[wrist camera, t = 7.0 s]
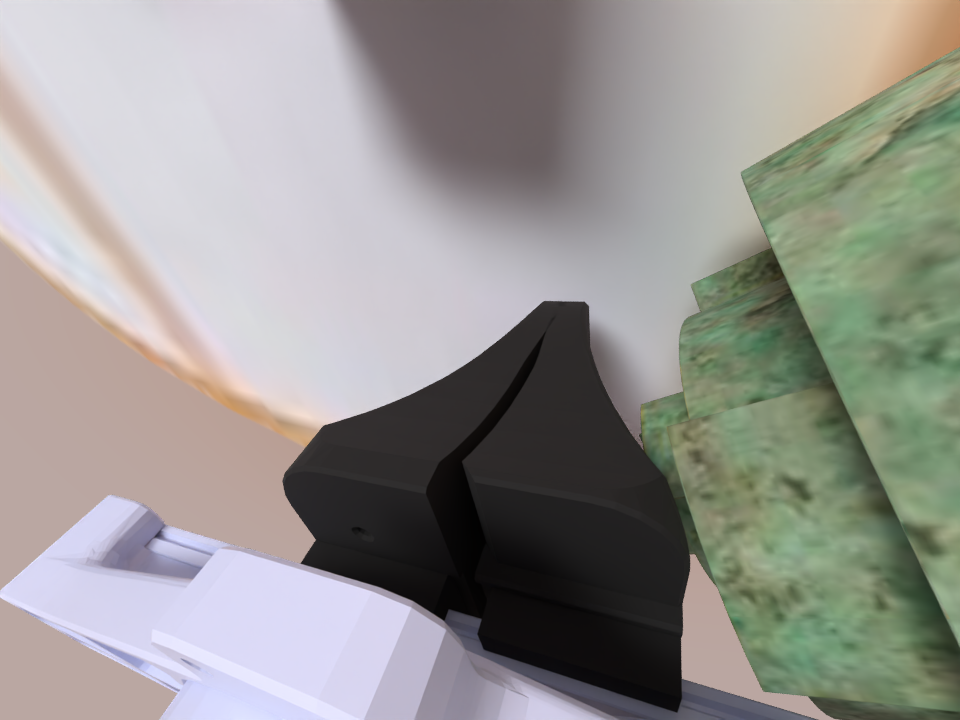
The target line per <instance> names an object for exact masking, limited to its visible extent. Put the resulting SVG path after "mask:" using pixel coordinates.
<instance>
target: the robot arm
mask: <svg viewBox="0 0 960 720" xmlns="http://www.w3.org/2000/svg"><path fill="white" fill-rule="evenodd" d="M283 486H284V490H285V495H286V497H287V499H288V500H289V502H290V504H291V506H292V507H293V508H294V510H295V511H296V513H297V514H298V515H299V517H300V518H301V519H302V521H303V522H304V524H305V525H306V526H307V528H308V529H309V531H310V532H311V533H312V535H313V536H314V538H315V539H316V541H315V542H314V544H313V545H312V547H311V548H310V550H309V551H308V553H307V554H306V556H305V558H304V559H303V561H302V562H301V564H299V563H296V562H293V561H289V560H286V559H282V558H279V557H276V556H272V555H269V554H265V553H262V552H259V551H256V550H252V549H249V548H242V547H239V546H236V545H232V544H229V543H226V542H222V541H219V540H216V539H212V538H209V537H206V536H202V535H199V534H196V533H192V532H189V531H186V530H182V529H179V528H176V527H172V526H169V525H165V524H164V521H163V520H162V518H160V517H159V516H158V514H157V513H155V512H154V511H153V510H152V509H151V508H149V507H147V506H146V505H144V504H142V503H140V502H137V501H133V500H130V499H126V498H123V497H119V496H115V495H109V496H107V497H106V498H105V499H104V500H103V501H101V502H100V503H99V504H98V505H97V506H96V507H95V508H93V509H92V510H91V511H90V512H89V513H88V514H87V515H85V516H84V517H83V518H82V519H81V520H80V521H79V522H78V523H77V524H75V525H74V526H73V527H72V528H71V529H70V530H69V531H67V532H66V533H65V534H64V535H63V536H62V537H60V538H59V539H58V540H57V541H56V542H55V543H54V544H53V545H51V546H50V547H49V548H48V549H47V550H46V551H45V552H43V554H41V555H40V556H39V557H38V558H37V559H35V560H34V561H33V562H32V563H31V564H30V565H29V566H27V567H26V568H25V569H24V570H23V571H22V572H21V573H20V574H18V575H17V576H16V577H15V578H14V579H13V580H12V581H11V582H9V583H8V584H7V585H6V586H5V587H4V588H3V589H1V590H0V598H2V599H3V600H5V601H7V602H9V603H11V604H12V605H14V606H16V607H18V608H19V609H21V610H23V611H25V612H26V613H28V614H30V615H32V616H33V617H35V618H37V619H39V620H40V621H42V622H44V623H46V624H47V625H49V626H51V627H53V628H54V629H56V630H58V631H60V632H61V633H63V634H65V635H67V636H69V637H70V638H72V639H74V640H76V641H78V642H79V643H81V644H83V645H85V646H86V647H88V648H90V649H92V650H95V651H96V652H99V653H100V654H102V655H104V656H106V657H108V658H110V659H112V660H115V661H116V662H118V663H120V664H122V665H124V666H126V667H128V668H130V669H132V670H134V671H136V672H138V673H140V674H142V675H143V676H145V677H147V678H149V679H151V680H153V681H155V682H157V683H159V684H161V685H163V686H165V687H167V688H169V689H170V690H172V691H175V692H176V693H178V694H177V695H176V697H175V698H174V700H173V701H172V703H171V704H170V705H169V707H168V708H167V710H166V711H165V712H164V714H163V715H162V717H161V718H160V719H159V720H817V719H814V718H811V717H807V716H804V715H801V714H797V713H794V712H790V711H787V710H784V709H781V708H777V707H774V706H770V705H767V704H764V703H760V702H757V701H754V700H751V699H747V698H744V697H740V696H737V695H734V694H730V693H727V692H723V691H720V690H717V689H714V688H710V687H707V686H704V685H700V684H697V683H693V682H690V681H687V680H684V679H682V675H681V637H682V633H683V611H682V603H683V598H684V594H685V590H686V585H687V581H688V576H689V572H690V555H689V548H688V543H687V538H686V534H685V530H684V527H683V523H682V520H681V517H680V514H679V511H678V508H677V505H676V502H675V500H674V497H673V495H672V492H671V489H670V487H669V484H668V481H667V479H666V477H665V476H664V475H663V474H662V472H661V471H660V470H659V469H658V468H657V467H656V466H655V464H654V463H653V462H652V461H651V460H650V458H649V457H648V456H647V455H646V453H645V452H644V451H643V450H642V448H641V447H640V445H639V444H638V443H637V441H636V440H635V439H634V437H633V436H632V435H631V433H630V432H629V430H628V428H627V427H626V425H625V424H624V422H623V420H622V419H621V417H620V416H619V414H618V412H617V411H616V409H615V407H614V406H613V404H612V402H611V400H610V398H609V396H608V394H607V392H606V390H605V388H604V386H603V383H602V381H601V379H600V376H599V374H598V371H597V368H596V365H595V362H594V359H593V356H592V353H591V349H590V329H589V306H588V305H587V304H586V303H585V302H562V301H544V302H542V303H541V304H540V305H539V306H538V307H537V308H535V309H534V310H533V311H532V312H531V313H530V314H529V315H528V316H527V317H525V318H524V319H523V320H522V321H521V322H520V323H519V324H518V325H516V326H515V327H514V328H513V329H512V330H511V331H509V332H508V333H507V334H506V335H505V336H504V337H502V338H501V339H500V340H499V341H497V342H496V343H495V344H493V345H492V346H491V347H489V348H488V349H487V350H485V351H484V352H483V353H482V354H480V355H479V356H478V357H476V358H475V359H473V360H472V361H470V362H469V363H467V364H466V365H464V366H463V367H461V368H459V369H458V370H456V371H455V372H453V373H451V374H450V375H448V376H446V377H444V378H443V379H441V380H439V381H437V382H435V383H433V384H431V385H429V386H427V387H425V388H423V389H421V390H419V391H417V392H415V393H413V394H411V395H409V396H407V397H404V398H402V399H400V400H397V401H395V402H392V403H390V404H387V405H385V406H382V407H380V408H377V409H374V410H372V411H369V412H366V413H363V414H360V415H357V416H354V417H350V418H347V419H344V420H341V421H338V422H335V423H331V424H328V425H324V426H323V427H322V428H321V429H320V431H319V432H318V433H317V434H316V436H315V437H314V438H313V439H312V440H311V442H310V443H309V444H308V445H307V447H306V448H305V449H304V450H303V452H302V453H301V454H300V455H299V456H298V458H297V459H296V460H295V461H294V463H293V464H292V465H291V466H290V467H289V469H288V470H287V471H286V472H285V475H284V478H283Z"/></svg>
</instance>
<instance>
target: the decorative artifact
mask: <svg viewBox="0 0 960 720" xmlns="http://www.w3.org/2000/svg"><path fill="white" fill-rule="evenodd" d="M741 176H742V179H743V182H744V185H745V187H746V190H747V192H748V195H749V197H750V199H751V202H752V204H753V206H754V209H755V211H756V213H757V216H758V218H759V220H760V223H761V225H762V227H763V229H764V232H765V234H766V236H767V238H768V241H769V243H770V245H771V247H772V248H770V249H768V250H766V251H763V252H761V253H759V254H757V255H755V256H752V257H750V258H748V259H746V260H744V261H741V262H739V263H737V264H735V265H733V266H730V267H728V268H726V269H724V270H722V271H719V272H717V273H715V274H713V275H711V276H708V277H706V278H704V279H702V280H700V281H697V282H695V283H693V284H691V287H692V290H693V292H694V295H695V298H696V300H697V303H698V306H699V308H700V311H701V312H700V313H697V314H695V315H692V316H690V317H688V318H687V319H686V320H685V321H684V323H683V325H682V327H681V331H680V338H679V360H680V371H681V379H682V386H683V392H680V393H677V394H674V395H670V396H667V397H664V398H661V399H657V400H654V401H651V402H648V403H644V404H642V405H641V431H642V433H641V434H640V435H639V436H640V438H641V440H642V443H643V448H644V452H645V453H646V455H647V456H648V457H649V458H650V460H651V461H652V462H653V463H654V464H655V466H656V467H657V468H658V469H659V470H660V471H661V472H662V474H663V475H664V476H665V477H666V479H667V481H668V484H669V487H670V489H671V492H672V495H673V497H674V500H675V502H676V505H677V508H678V511H679V514H680V517H681V520H682V523H683V527H684V530H685V534H686V538H687V543H688V548H689V554H695V555H696V557H697V558H698V560H699V562H700V564H701V565H702V567H703V569H704V570H705V572H706V573H707V575H708V576H709V578H710V579H711V580H712V581H713V583H714V584H715V585H716V586H717V588H718V590H719V593H720V595H721V598H722V600H723V603H724V606H725V608H726V610H727V613H728V616H729V618H730V620H731V623H732V625H733V627H734V629H735V631H736V634H737V636H738V638H739V641H740V643H741V645H742V648H743V650H744V652H745V654H746V657H747V659H748V661H749V663H750V665H751V667H752V669H753V671H754V673H755V675H756V677H757V680H758V681H759V684H760V686H761V688H762V690H763V691H764V692H772V693H782V694H792V695H802V696H808V697H809V698H810V699H811V701H813V703H814V704H815V705H816V706H817V707H818V708H819V709H820V710H821V711H823V712H824V713H825V714H826V715H828V716H830V717H832V718H834V719H840V720H960V47H959V48H957V49H956V50H954V51H952V52H950V53H949V54H947V55H945V56H943V57H942V58H940V59H938V60H936V61H935V62H933V63H931V64H929V65H928V66H926V67H924V68H922V69H921V70H919V71H917V72H915V73H914V74H912V75H910V76H908V77H907V78H905V79H903V80H901V81H900V82H898V83H896V84H894V85H893V86H891V87H889V88H887V89H886V90H884V91H882V92H880V93H879V94H877V95H875V96H873V97H872V98H870V99H868V100H866V101H865V102H863V103H861V104H859V105H858V106H856V107H854V108H852V109H851V110H849V111H847V112H845V113H844V114H842V115H840V116H838V117H837V118H835V119H833V120H831V121H830V122H828V123H826V124H824V125H823V126H821V127H819V128H817V129H816V130H814V131H812V132H810V133H809V134H807V135H805V136H803V137H802V138H800V139H798V140H796V141H795V142H793V143H791V144H789V145H788V146H786V147H784V148H782V149H781V150H779V151H777V152H775V153H774V154H772V155H770V156H768V157H767V158H765V159H763V160H761V161H760V162H758V163H756V164H754V165H753V166H751V167H749V168H747V169H746V170H744V171H742V172H741Z"/></svg>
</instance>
